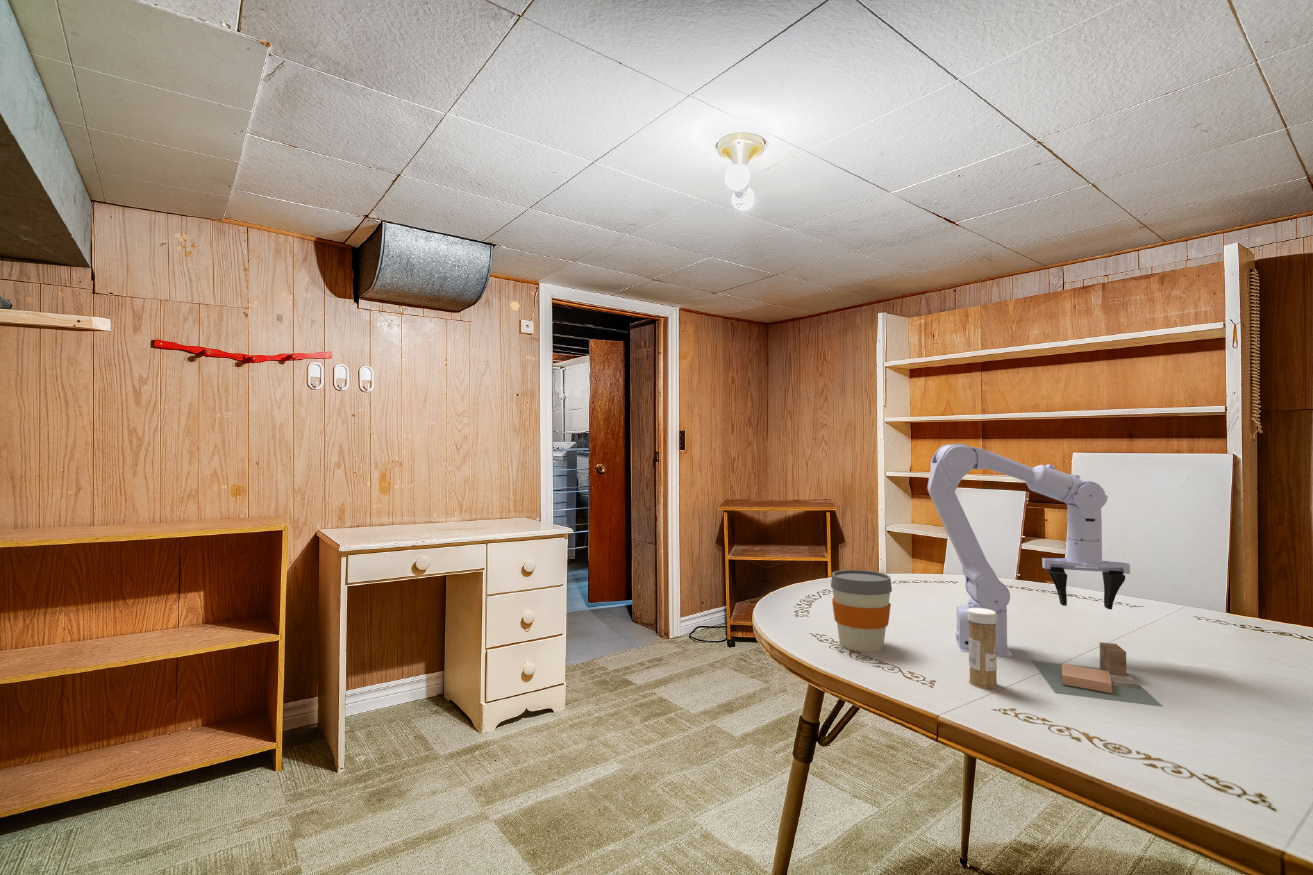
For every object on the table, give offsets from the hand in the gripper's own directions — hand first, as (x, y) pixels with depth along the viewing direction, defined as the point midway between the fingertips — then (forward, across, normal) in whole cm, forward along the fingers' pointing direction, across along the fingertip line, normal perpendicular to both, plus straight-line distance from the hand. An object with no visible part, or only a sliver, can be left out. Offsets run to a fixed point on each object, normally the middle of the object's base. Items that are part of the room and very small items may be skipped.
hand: (1085, 606), depth 120 cm
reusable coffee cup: (+11, -43, -8) cm, 45 cm away
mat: (+10, -4, -16) cm, 19 cm away
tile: (+9, -4, -14) cm, 17 cm away
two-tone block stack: (+10, +1, -12) cm, 16 cm away
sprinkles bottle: (+11, -22, -24) cm, 34 cm away
